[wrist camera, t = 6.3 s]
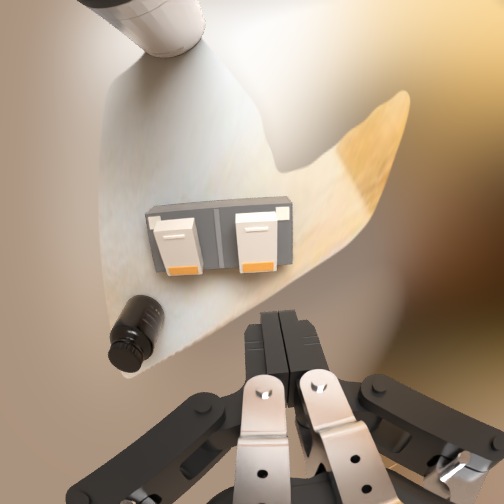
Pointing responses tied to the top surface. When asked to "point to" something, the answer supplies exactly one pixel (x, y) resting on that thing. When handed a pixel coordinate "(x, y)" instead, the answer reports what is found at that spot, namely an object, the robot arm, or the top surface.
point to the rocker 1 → (179, 246)
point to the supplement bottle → (135, 333)
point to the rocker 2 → (257, 241)
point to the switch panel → (224, 228)
